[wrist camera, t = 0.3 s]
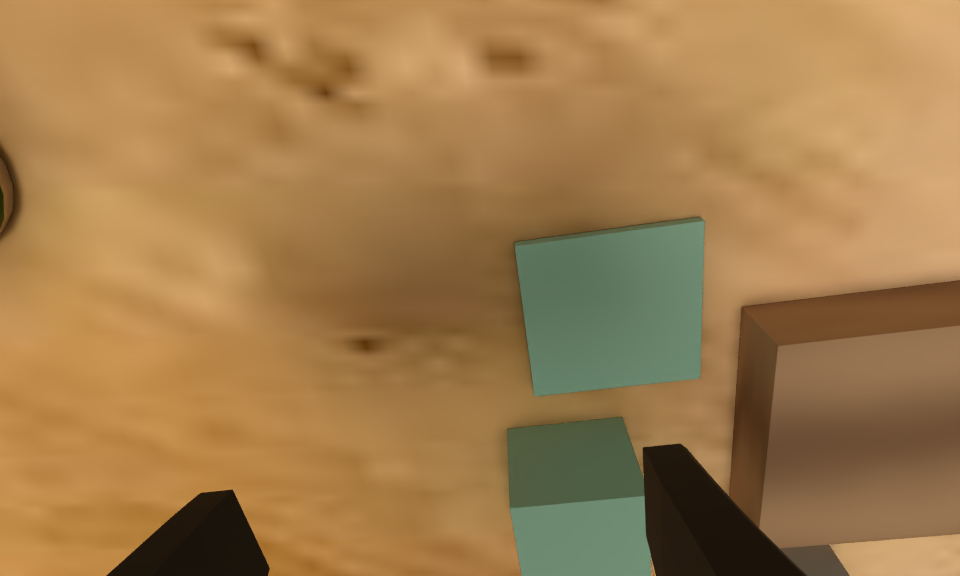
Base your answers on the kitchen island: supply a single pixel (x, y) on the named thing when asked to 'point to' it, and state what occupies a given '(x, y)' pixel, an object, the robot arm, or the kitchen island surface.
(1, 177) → the beer can
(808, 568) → the slate block
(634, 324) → the teal square tile
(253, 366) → the kitchen island surface
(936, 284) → the walnut block
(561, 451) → the teal block
